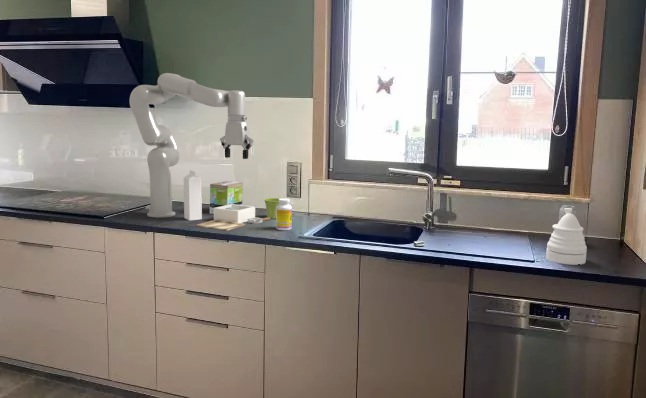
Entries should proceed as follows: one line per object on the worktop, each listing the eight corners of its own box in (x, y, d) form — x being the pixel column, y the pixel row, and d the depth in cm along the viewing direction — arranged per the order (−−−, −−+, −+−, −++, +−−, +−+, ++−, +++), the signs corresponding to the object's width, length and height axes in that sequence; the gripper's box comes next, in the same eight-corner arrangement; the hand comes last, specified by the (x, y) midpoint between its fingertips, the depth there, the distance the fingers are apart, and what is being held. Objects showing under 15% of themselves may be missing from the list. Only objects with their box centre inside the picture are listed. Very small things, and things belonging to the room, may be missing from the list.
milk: (189, 221, 243) (188, 172, 239) (184, 218, 247) (183, 170, 244) (202, 219, 246) (201, 171, 243) (196, 217, 251) (195, 170, 247)
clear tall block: (553, 241, 220) (556, 204, 218) (566, 241, 222) (569, 204, 219) (563, 245, 214) (566, 207, 212) (576, 244, 216) (580, 207, 213)
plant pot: (267, 215, 261) (267, 197, 259) (286, 216, 259) (286, 198, 257) (261, 218, 252) (261, 200, 250) (280, 220, 250) (281, 201, 248)
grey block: (231, 217, 251) (231, 206, 251) (238, 218, 250) (238, 207, 249) (225, 218, 248) (225, 208, 247) (232, 219, 246) (232, 208, 245)
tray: (196, 227, 231) (196, 224, 231) (215, 221, 242) (215, 219, 242) (226, 231, 224) (226, 229, 223) (245, 226, 235) (245, 223, 235)
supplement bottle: (292, 230, 228) (292, 200, 226) (276, 231, 227) (276, 200, 225) (290, 227, 235) (291, 198, 233) (275, 227, 234) (275, 198, 232)
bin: (213, 221, 244) (213, 208, 243) (231, 216, 255) (231, 204, 254) (237, 224, 238) (237, 211, 237) (255, 219, 249) (255, 206, 248)
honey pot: (541, 254, 199) (545, 205, 197) (577, 255, 198) (582, 207, 195) (552, 263, 187) (557, 212, 184) (591, 265, 186) (596, 213, 183)
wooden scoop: (253, 224, 238) (253, 220, 238) (247, 223, 241) (247, 218, 241) (272, 221, 247) (272, 217, 246) (266, 219, 249) (266, 215, 249)
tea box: (227, 216, 257) (227, 185, 254) (209, 214, 260) (208, 183, 258) (243, 211, 270) (243, 181, 268) (225, 209, 274) (225, 180, 272)
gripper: (257, 119, 238) (257, 158, 241) (225, 118, 246) (225, 156, 249) (247, 119, 232) (247, 159, 234) (215, 118, 239) (215, 157, 242)
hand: (236, 158), depth 241 cm, fingers open, 9 cm apart
